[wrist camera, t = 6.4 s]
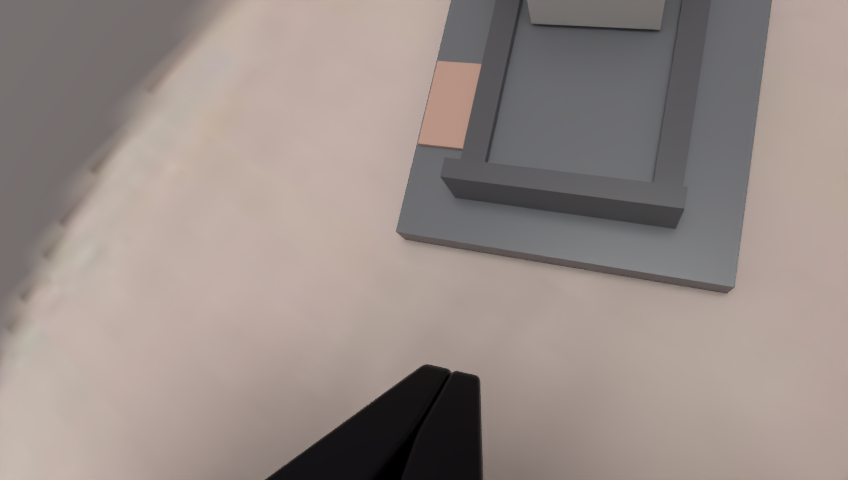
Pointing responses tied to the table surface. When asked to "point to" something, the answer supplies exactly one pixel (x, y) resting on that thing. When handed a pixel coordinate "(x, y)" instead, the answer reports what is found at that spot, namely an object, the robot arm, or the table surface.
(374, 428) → the robot arm
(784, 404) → the table surface
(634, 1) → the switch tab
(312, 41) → the table surface
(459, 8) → the switch board
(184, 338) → the table surface
